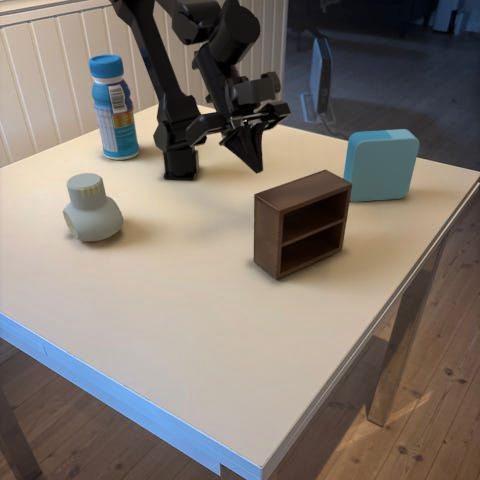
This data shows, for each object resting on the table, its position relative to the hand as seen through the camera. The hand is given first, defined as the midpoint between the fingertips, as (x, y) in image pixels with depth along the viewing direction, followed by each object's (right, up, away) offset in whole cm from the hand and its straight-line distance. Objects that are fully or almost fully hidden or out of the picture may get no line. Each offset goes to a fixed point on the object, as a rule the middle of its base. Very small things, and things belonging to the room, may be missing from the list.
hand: (259, 172), depth 80 cm
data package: (+23, 0, +16) cm, 28 cm away
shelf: (+6, -14, 0) cm, 15 cm away
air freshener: (-29, -9, +7) cm, 31 cm away
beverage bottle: (-31, +14, +33) cm, 47 cm away
